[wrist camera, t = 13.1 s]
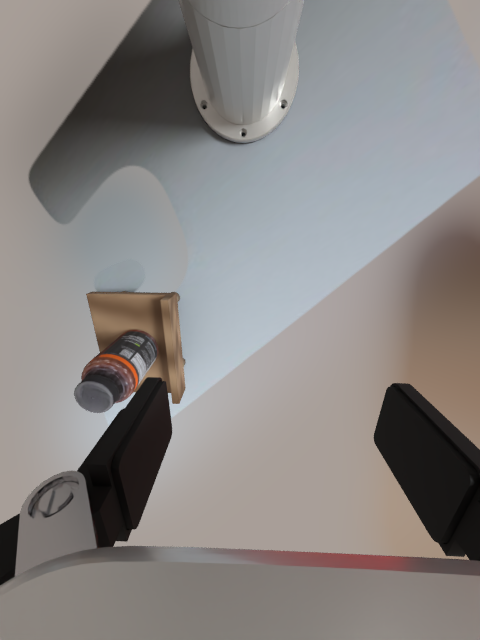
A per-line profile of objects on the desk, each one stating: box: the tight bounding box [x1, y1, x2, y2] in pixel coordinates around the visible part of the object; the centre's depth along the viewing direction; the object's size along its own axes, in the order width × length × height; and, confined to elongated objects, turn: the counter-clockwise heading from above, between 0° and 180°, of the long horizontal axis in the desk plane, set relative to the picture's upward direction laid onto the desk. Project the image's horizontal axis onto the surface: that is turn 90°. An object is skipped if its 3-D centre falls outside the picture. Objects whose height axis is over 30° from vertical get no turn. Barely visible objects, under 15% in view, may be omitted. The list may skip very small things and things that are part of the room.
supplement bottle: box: [74, 330, 158, 413], centre depth 29 cm, size 6×6×11 cm
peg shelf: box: [86, 291, 185, 404], centre depth 36 cm, size 16×12×9 cm
